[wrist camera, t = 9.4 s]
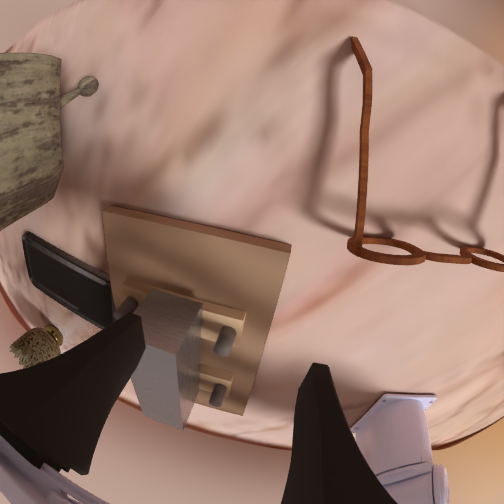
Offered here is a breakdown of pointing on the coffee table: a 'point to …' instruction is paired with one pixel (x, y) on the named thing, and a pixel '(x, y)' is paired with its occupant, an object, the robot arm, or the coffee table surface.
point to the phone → (69, 281)
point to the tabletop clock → (31, 131)
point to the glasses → (356, 242)
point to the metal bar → (169, 357)
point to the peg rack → (202, 290)
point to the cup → (37, 346)
